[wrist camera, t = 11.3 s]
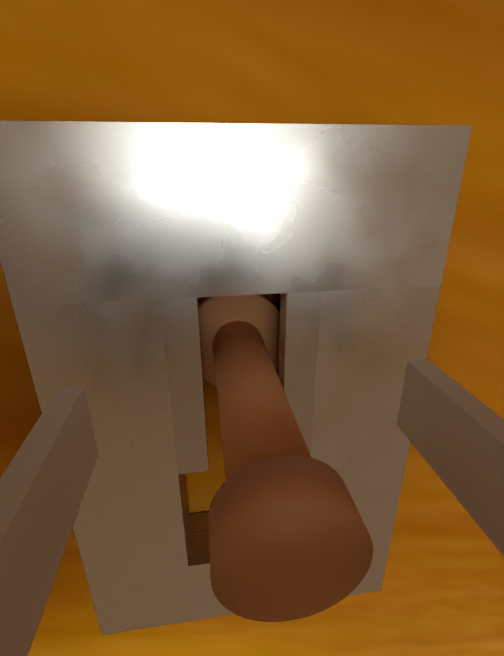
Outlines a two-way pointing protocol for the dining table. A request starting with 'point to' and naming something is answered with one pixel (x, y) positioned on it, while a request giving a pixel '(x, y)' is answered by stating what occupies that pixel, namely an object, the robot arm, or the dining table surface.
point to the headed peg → (271, 480)
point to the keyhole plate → (212, 281)
